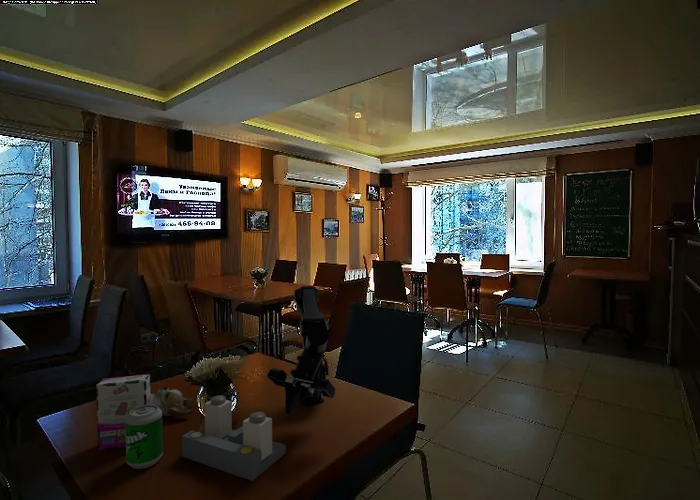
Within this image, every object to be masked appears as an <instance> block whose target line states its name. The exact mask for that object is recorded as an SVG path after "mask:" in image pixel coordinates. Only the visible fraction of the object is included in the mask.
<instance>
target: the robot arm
mask: <svg viewBox="0 0 700 500" xmlns="http://www.w3.org/2000/svg"><path fill="white" fill-rule="evenodd" d="M293 291H294V292H293V303H295V309H296V310H297V312H298V313H299V314H300V316H301V317H300V318H301V319H300V320H299V333H300V336H301V338H302V352H301V354H300V355H297V356H296V361H297V364H296V366H295V368H294V369H291V370H290V374H291V375H289V374H287V373H286V372H285V371H284V370H283V369H280V368H275V367H272V368H270V369H269V370H268V372H267V374H266V377H267V378H268V379H269V380H270V382H272V383H273V384H274V385H275V386H277V387H280V388H281V387H282V388H284V393H285V394H284V395H285V403H284V404H285V406H284V407H285V409H284V410H285V412H284V413H285V414H286V416H290V415H292V413H294V411H295V410H296V408H297V407H298V406H299V405H300V404H302V405H303V406H305V407H311V406H315V405H317V404H320V403H323V402H325V399H324V398H329V399H333V398H334V396H335V394H336V387H335V386H334V384H333V383H332V382H331V381H330V380H329V379H328V378H327V367H326V366H325V363H323V357H324V355H325V353H326V349H327V345H328V341H329V339H330V333H331V327H330V324H329V323H328V322H327V319H325V316H324V313H323V312H322V311H320V310H319V307H318V302H319V301H320V291H319V288H316V286H314V285H302V286H300V287H299V288H297V289H294V290H293ZM322 396H323V397H324V398H322Z"/></svg>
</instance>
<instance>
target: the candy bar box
mask: <svg viewBox="0 0 700 500" xmlns="http://www.w3.org/2000/svg"><path fill="white" fill-rule="evenodd" d="M95 387H96V389H95V391H96V418H97V419H96V420H97V423H96V424H97V450H98V451H99V452H100V451H109V450H116V449H121V448H126V427H125V419H126V416H127V415H128V414H129V413H130V411H131V410H133V409H135V408H137V407H140V406H145V405H151V395H150V394H151V375H150V374H149V373H148V374H138V375H129V376H128V375H126V376H117V377H108V378H102V379H101V380H100V381H99V382H98V383H97V384H96V385H95Z"/></svg>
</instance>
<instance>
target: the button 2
mask: <svg viewBox="0 0 700 500" xmlns="http://www.w3.org/2000/svg"><path fill="white" fill-rule="evenodd" d="M242 426H243V446H246V447H251V448H253V449H256V450H259V451H261V459H262V460H264V459H265V458H266V457H267V456H269V455H270V454H271V453H272V441H273V418H271V417H269V416H268V417H267V415H266V413H265V412H264V411H256V412H252V413H250V414H249V417H248V418H246V419H244V420H243V421H242Z"/></svg>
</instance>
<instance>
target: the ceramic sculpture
mask: <svg viewBox="0 0 700 500" xmlns="http://www.w3.org/2000/svg"><path fill="white" fill-rule="evenodd" d="M150 395H151V405H155V406H157V407H158V408H159V409H161V410H162V417H163V416H164V417H177V418H180V417H184V416H187V415H189V414H191V413H193V412H194V410H193V409H189V408H188V407H187V405H189V404H191V403H192V402H194V401H196V397H191V398H189V397H184V394H183V393H182V391H180V390H179V389H176V388H174V389H173V388H169V387H168V386H163V387H161V388H159V389H158V390H157V391H156V392H155V393H150Z"/></svg>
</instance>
